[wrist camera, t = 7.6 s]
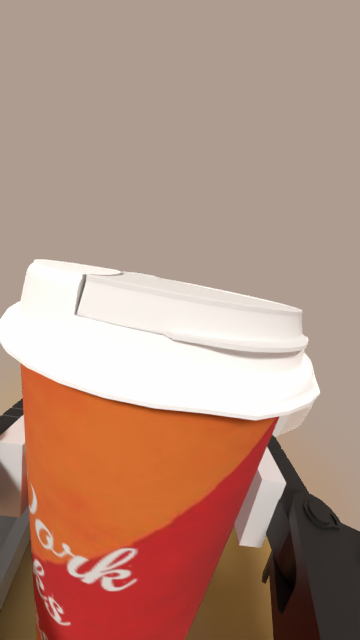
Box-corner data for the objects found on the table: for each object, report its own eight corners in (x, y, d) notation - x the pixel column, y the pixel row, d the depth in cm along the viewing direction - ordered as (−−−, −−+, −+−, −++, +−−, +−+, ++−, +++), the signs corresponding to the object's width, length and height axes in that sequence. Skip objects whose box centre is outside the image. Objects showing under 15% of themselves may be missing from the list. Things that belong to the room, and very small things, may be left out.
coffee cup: (24, 538, 11) (34, 253, 8) (163, 485, 15) (206, 285, 12) (-63, 1080, 4) (-435, 231, 1) (246, 694, 8) (412, 330, 5)
